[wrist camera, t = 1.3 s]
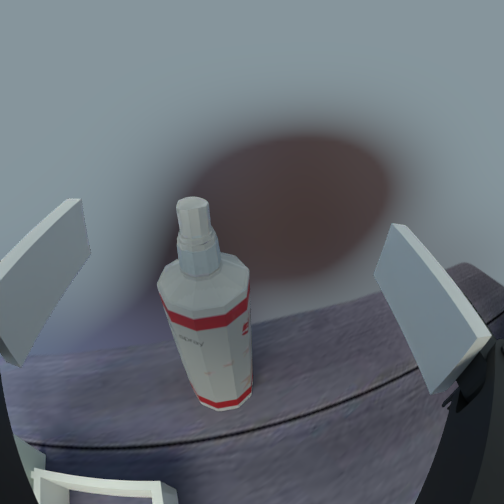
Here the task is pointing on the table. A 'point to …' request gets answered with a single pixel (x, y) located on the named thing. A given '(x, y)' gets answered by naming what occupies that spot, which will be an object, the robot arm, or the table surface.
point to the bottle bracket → (83, 482)
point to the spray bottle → (209, 311)
